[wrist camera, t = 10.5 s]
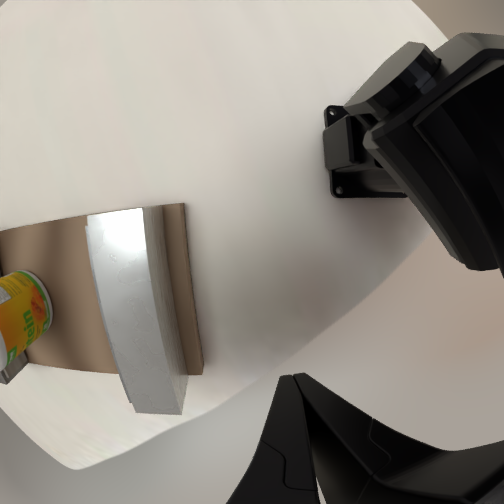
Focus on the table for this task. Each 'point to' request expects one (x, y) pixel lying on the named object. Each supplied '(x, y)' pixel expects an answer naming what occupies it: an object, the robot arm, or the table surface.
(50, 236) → the vise bed
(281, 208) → the table surface
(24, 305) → the supplement bottle
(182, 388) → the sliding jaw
